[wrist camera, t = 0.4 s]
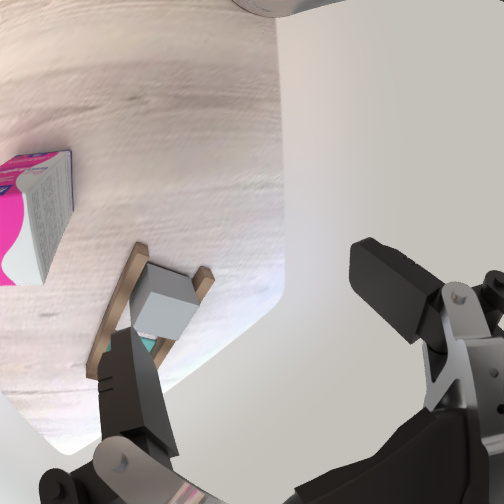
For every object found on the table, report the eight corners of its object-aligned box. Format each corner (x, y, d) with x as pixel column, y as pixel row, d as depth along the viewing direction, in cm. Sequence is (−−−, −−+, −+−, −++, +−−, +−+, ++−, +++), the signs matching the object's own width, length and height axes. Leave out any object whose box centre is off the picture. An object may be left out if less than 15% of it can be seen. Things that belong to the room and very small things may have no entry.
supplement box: (72, 146, 20) (28, 193, 11) (74, 211, 23) (47, 291, 14) (14, 152, 17) (-52, 203, 8) (20, 215, 20) (-26, 293, 11)
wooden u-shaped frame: (136, 241, 27) (137, 252, 25) (210, 269, 31) (215, 280, 30) (85, 365, 32) (85, 377, 30) (143, 377, 37) (145, 389, 35)
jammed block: (147, 263, 28) (151, 291, 24) (190, 277, 30) (199, 305, 27) (129, 299, 29) (131, 329, 25) (170, 311, 32) (177, 340, 28)
